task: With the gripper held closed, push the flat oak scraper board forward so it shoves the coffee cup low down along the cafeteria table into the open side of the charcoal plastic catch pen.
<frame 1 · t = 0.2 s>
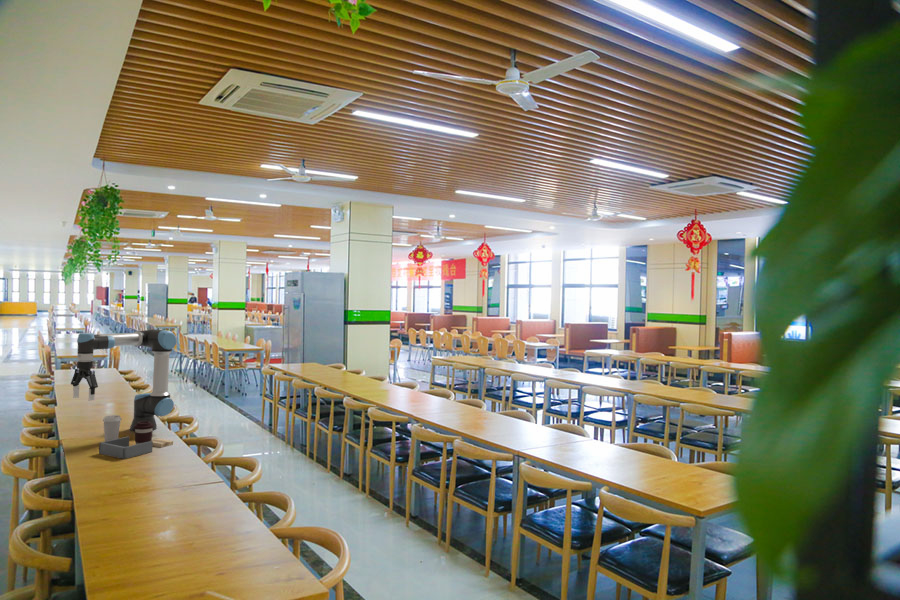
hand: (83, 399, 321), 28 cm above the table, fingers open, 13 cm apart
catch pen: (125, 452, 317), on the table
coffee cup: (143, 449, 326), on the table
scraper board: (159, 445, 336), on the table
coffee cup 2: (111, 442, 337), on the table
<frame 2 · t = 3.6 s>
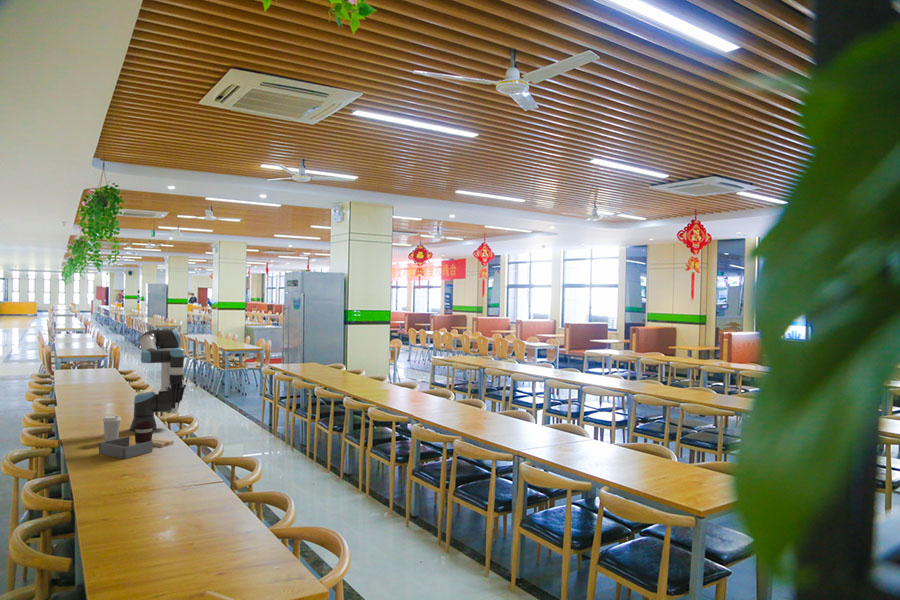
hand: (174, 413, 345), 17 cm above the table, fingers closed
nothing on the table moved.
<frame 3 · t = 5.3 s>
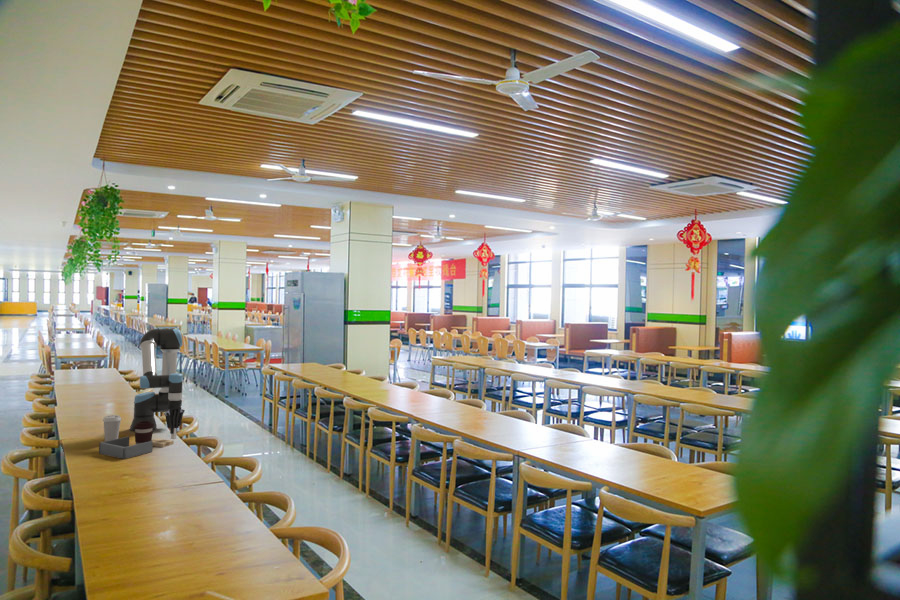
hand: (173, 438, 345), 1 cm above the table, fingers closed
nothing on the table moved.
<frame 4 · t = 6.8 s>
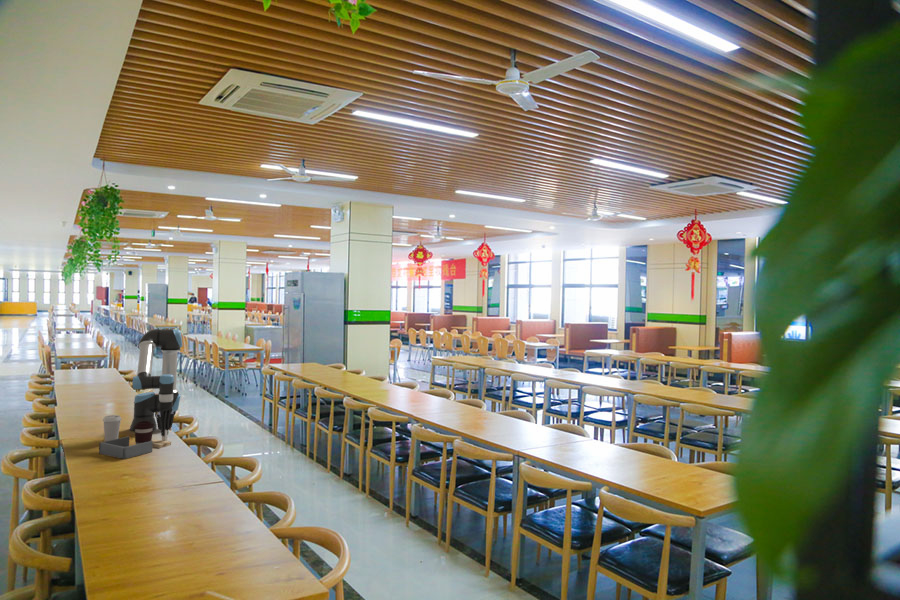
hand: (164, 440, 339), 1 cm above the table, fingers closed
scraper board: (157, 446, 334), on the table, touching gripper
everything else where it was.
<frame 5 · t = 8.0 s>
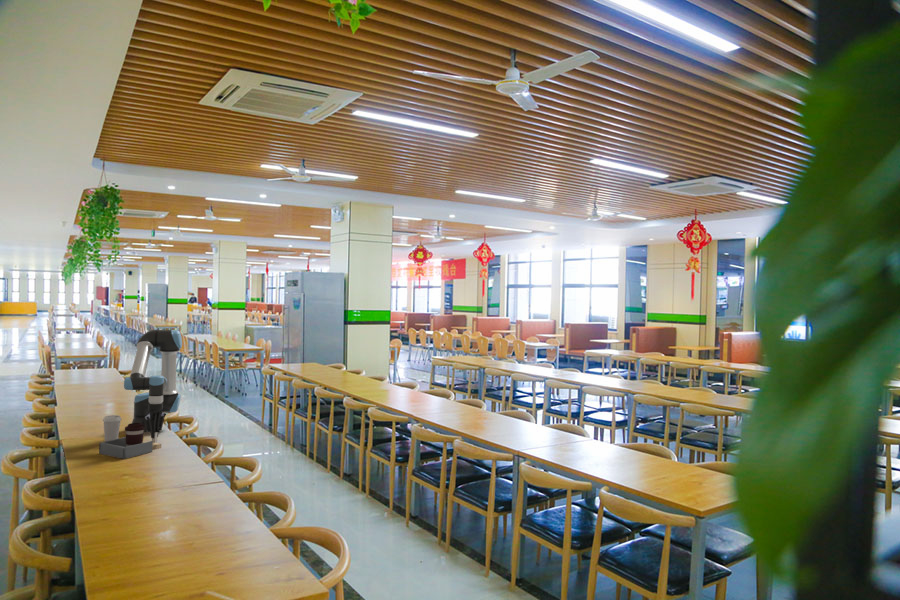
hand: (154, 443, 333), 1 cm above the table, fingers closed
coffee cup: (134, 451, 321), on the table
scraper board: (147, 448, 328), on the table, touching gripper
everything else where it was.
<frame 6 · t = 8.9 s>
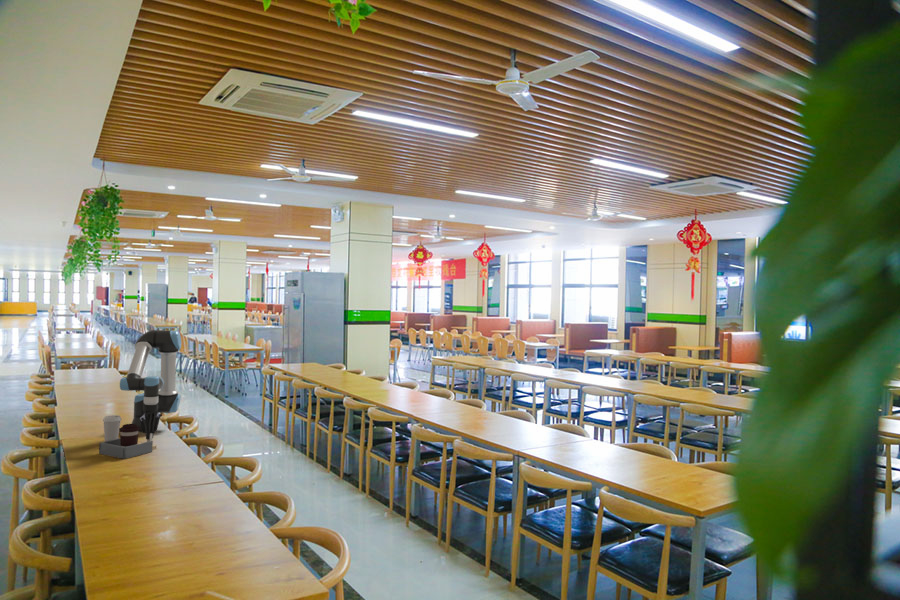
hand: (149, 444, 330), 1 cm above the table, fingers closed
coffee cup: (128, 452, 318), on the table, touching scraper board
scraper board: (142, 450, 325), on the table, touching coffee cup
everything else where it was.
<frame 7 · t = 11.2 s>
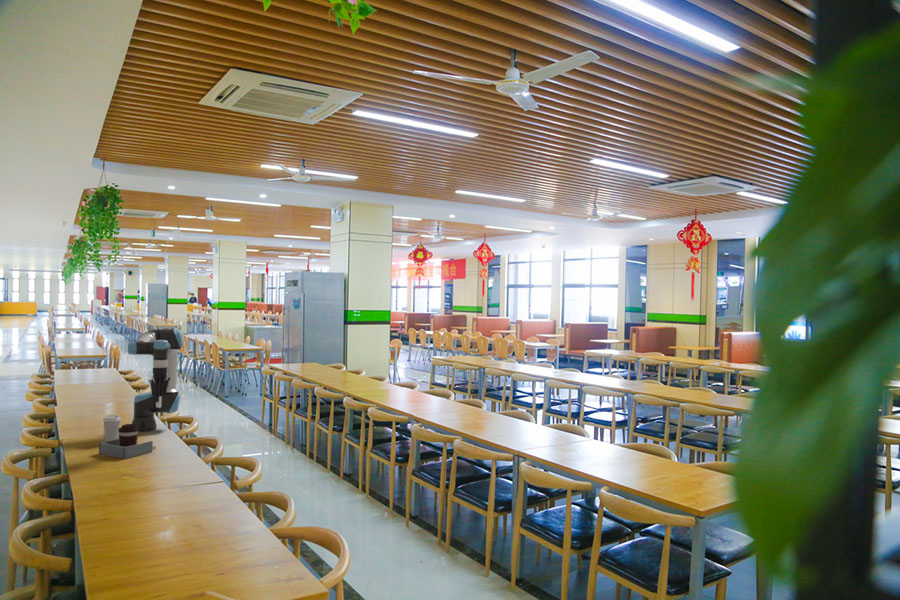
hand: (158, 407, 335), 22 cm above the table, fingers closed
coffee cup: (127, 452, 318), on the table
scraper board: (142, 450, 325), on the table
everything else where it was.
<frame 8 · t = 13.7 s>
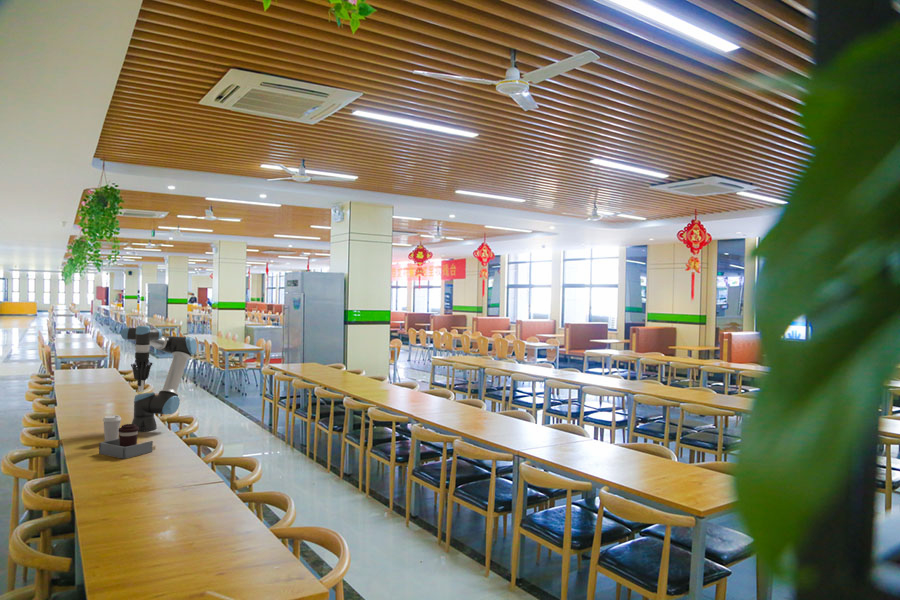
hand: (140, 391, 344), 29 cm above the table, fingers closed
nothing on the table moved.
at the end: coffee cup inside the target area (2.1 cm from its centre), on the table; coffee cup tilted 0°; coffee cup touching table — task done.
